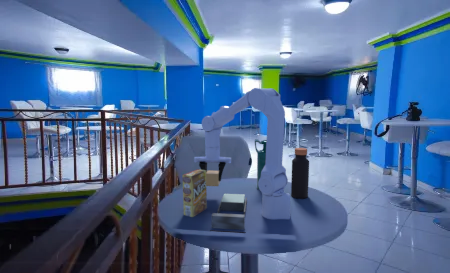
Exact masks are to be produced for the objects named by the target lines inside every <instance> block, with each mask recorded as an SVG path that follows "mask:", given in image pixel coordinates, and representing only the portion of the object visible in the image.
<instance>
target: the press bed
mask: <svg viewBox="0 0 450 273" xmlns="http://www.w3.org/2000/svg"><path fill="white" fill-rule="evenodd" d="M222 198H223V196H222V197H221V199H220V202H219V205H218V208H217V211H216V212H217V213H215V212H212V214H211V228H212V229H211V230H210V231H209V232H216V233H217V232H218V233H219V232H221V233H235V234H238V233H239V234H246V233H247V231H246V232H245V231H244V230H245V227H246V226H245V222H246V221H245V220H246V219H245V216H246V211H247V202H248V197H245V205H244V211H243V214H236V213H221V212H220V211H221V201H222ZM213 229H220V230H213ZM221 229H223V230H221ZM224 229H225V230H224ZM226 230H227V231H226ZM228 230H229V231H228ZM231 230H232V231H231ZM233 230H240V231H233ZM241 230H243V231H241Z"/></svg>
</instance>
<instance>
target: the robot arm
mask: <svg viewBox="0 0 450 273" xmlns="http://www.w3.org/2000/svg"><path fill="white" fill-rule="evenodd" d="M250 106H251V107H253V109H255V110H258V111H260V112H261V113H262V114H264V115H265V117H266V118H267V120H266V122H267V125H266V126H267V127H266V140H267V142H266V163H265V166H264V168H263V170H262V171H261V177H260V179H259V181H258V187H259V189H260V190H259V191H260V192H261V197H262V198H261V200H262V201H261V216H262V217H263V218H265V219H268V220H290V219H291V195H290V194H291V193H289V192H288V193H287V192H285V188H286V187H288V186H287V185H288V182H289V181H288V180H289V179H288V176H287V172H286V171H287V168H285V167H284V165H283V152H284V151H283V150H284V135H285V134H284V133H285V120H286V118H285V117H286V112H285V111H286V110H285V108H284V106H283V103H282V101H281V94H280V93H279V92H278V91H277V90H276V89H275V88H259V87H254V88H252V89H251V90H249V91H246V93H245V94H244V95H243V96H241V97H240V98H239V99H237V100H236V101H235V102H233V103H232V104H231V105H230V106H228V105H221V106H220V107H219V109H218V110H217V111H216V112H215V111H213V112H212V113H211V115H206V116H204V117H203V118H202V120H201V128H202V129H203V130H204V140H205V141H204V142H205V144H204V147H205V148H204V150H205V152H204V153H205V156H194V157H193V162H194V163H195V164H196V163H198V166H199V169H200V170H206V172H207V171H208V163H216V164H218V171H219V181H220V182H221V181H222V176H223V173H224V168H225V167H226V165H227V164H232V157H227V156H221V132H222V129H223V126H225V125H226V124H228V123H230V122H231V121H233V120H234V119H235V115H236V114H237V113H240V112H241V111H243V110H245V109H247V108H249V107H250Z"/></svg>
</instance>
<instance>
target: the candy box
mask: <svg viewBox="0 0 450 273" xmlns="http://www.w3.org/2000/svg"><path fill="white" fill-rule="evenodd" d="M207 196H208V194H207V186H206V170H201V168H196V169H195V170H191V171H188V172H186V173H183V174H182V200H183V201H182V202H183V204H182V205H183V216H186V217H190V218H195V217H197V215H199V214H200V213H202V212H204V211H205V210H207V209H208V201H207V200H208V198H207Z"/></svg>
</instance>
